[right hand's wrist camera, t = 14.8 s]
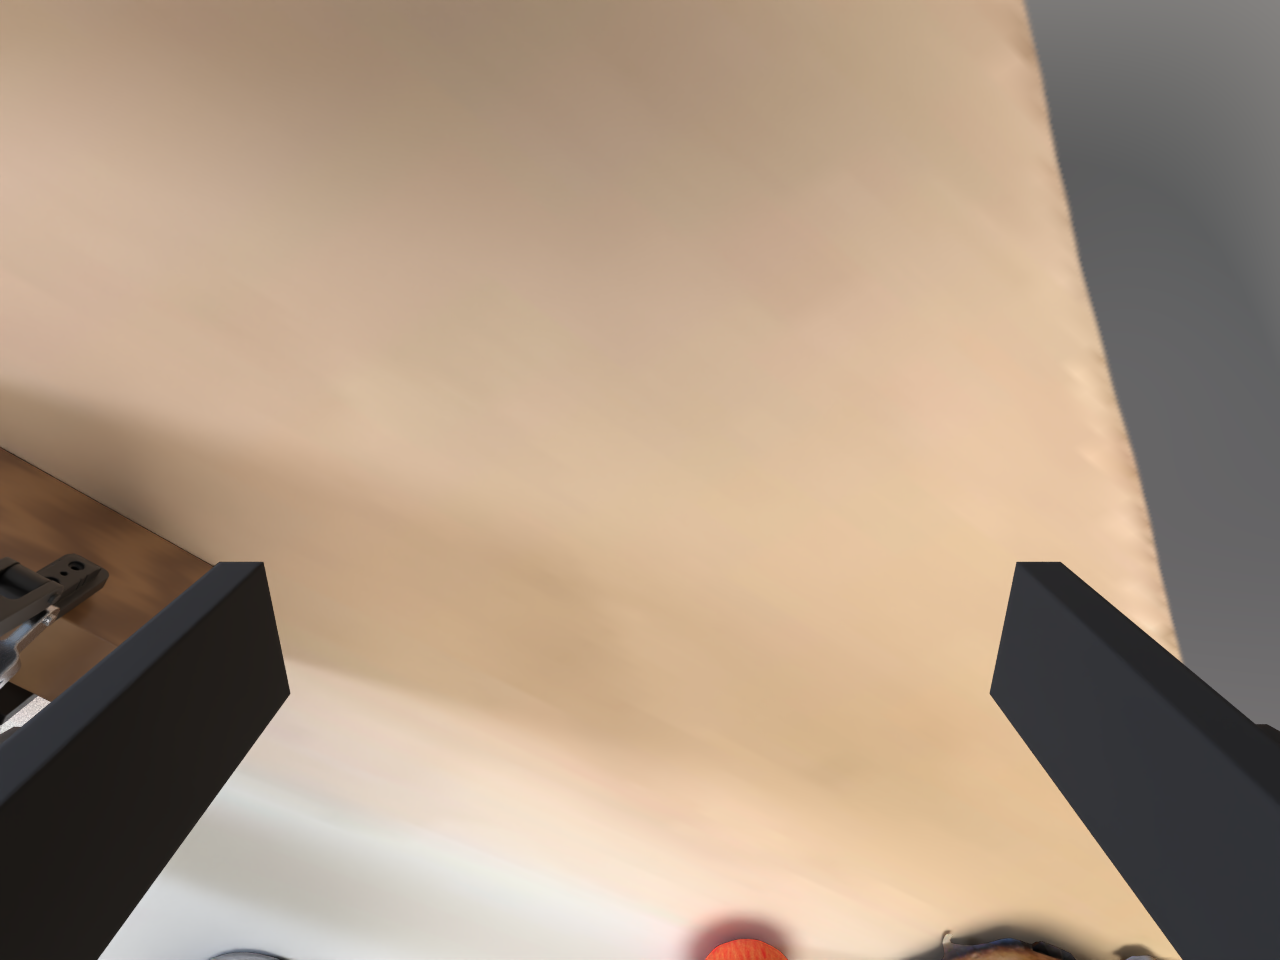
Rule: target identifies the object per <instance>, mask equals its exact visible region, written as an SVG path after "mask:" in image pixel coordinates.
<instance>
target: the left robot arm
mask: <svg viewBox="0 0 1280 960" xmlns="http://www.w3.org/2000/svg"><path fill="white" fill-rule="evenodd" d="M108 577H109V573H108V571H107V570H106V569H104V568H102V567H100V566H98V565H97V564H95V563H93V562H91V561H89V560H87V559H85V558H84V557H82V556H80V555H77V554H75V553H72V554H66V555H64V556H62V557H60V558H59V559H57V560H55V561H54V562H52V563H50V564H49V565H47V566H45V567H43V568H42V569H40V570H38V571H37V572H34V571H32V570H30V569H28V568H27V567H25V566H23V565H21V564H20V563H19V562H17V561H16V560H14V559H12V558H10V557H4V558H2V559H0V637H1V636H2V635H4V634H6V633H7V632H9V631H11V630H12V629H14V628H15V627H17V626H19V625H20V624H22V625H21V626H20V627H19V628H18V629H17V630H15V631H14V632H13V633H12V634H11V635H10V636H9V637H8V638H6V639H4V640H0V725H2V724H3V723H5V722H6V721H7V720H8V719H10V718H11V717H12V716H13V715H15V714H16V713H17V712H18V711H20V710H21V709H22V708H23V707H25V706H26V705H27V704H28V703H30V702H31V701H32V700H33V699H35V698H36V697H37V696H38V695H36V694H34V693H31V692H29V691H27V690H25V689H23V688H21V687H19V686H17V685H15V684H13V683H11V682H9V680H10V679H11V678H12V677H13V676H14V675H15V674H16V673H17V672H18V671H19V670H20V668H21V660H20V656H19V654H20V653H21V652H22V651H23V650H24V649H25V648H26V647H27V646H28V645H29V644H30V643H31V642H32V641H33V640H34V639H35V638H36V637H37V636H38V635H39V634H40V633H41V632H42V631H43V630H45V629H46V628H47V627H48V626H50V625H51V624H52V623H53V622H55V621H56V620H57V619H59V618H60V617H62V616H63V615H65V614H66V613H67V612H69V611H70V610H72V609H73V608H75V607H76V606H77V605H79V604H80V603H82V602H83V601H85V600H86V599H88V598H89V597H90V596H92V595H93V594H95V593H96V592H98V591H99V590H100V589H102V588H103V587H104V585H105V583H106V581H107V579H108ZM0 729H1V726H0ZM210 960H279V959H276V958H274V957H271V956H267V955H263V954H258V953H249V952H237V953H228V954H224V955H220V956H217V957H215V958H212V959H210Z"/></svg>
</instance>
